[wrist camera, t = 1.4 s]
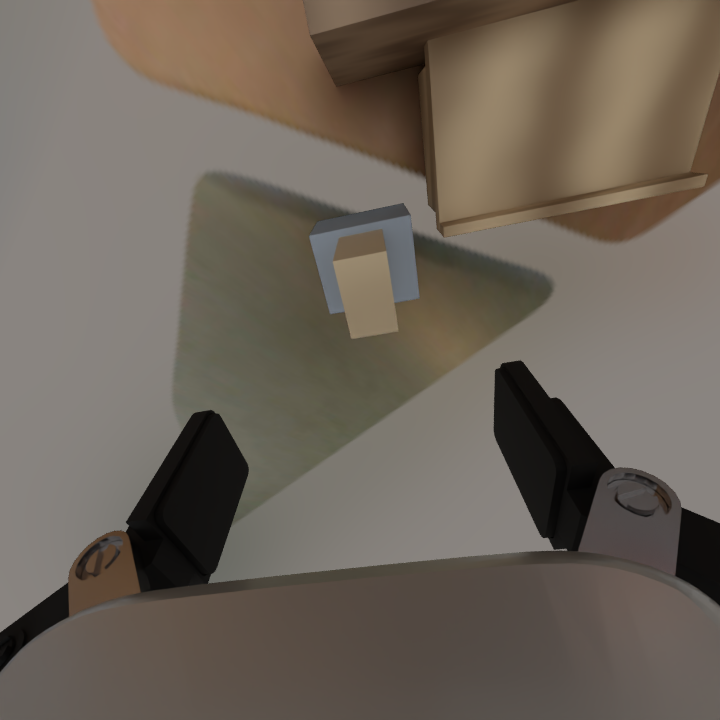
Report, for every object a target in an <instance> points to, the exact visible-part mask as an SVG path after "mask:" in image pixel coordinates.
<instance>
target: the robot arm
mask: <svg viewBox="0 0 720 720" xmlns="http://www.w3.org/2000/svg"><path fill="white" fill-rule="evenodd" d="M494 395H495V397H494V435H495V438H496V441H497V443H498V445H499V447H500V449H501V452H502V454H503V456H504V458H505V460H506V462H507V464H508V466H509V469H510V471H511V473H512V475H513V478H514V480H515V482H516V484H517V486H518V488H519V490H520V493H521V495H522V497H523V499H524V501H525V503H526V505H527V508H528V510H529V512H530V514H531V516H532V518H533V521H534V523H535V525H536V527H537V529H538V531H539V533H540V535H541V536H542V537H543V538H549V540H550V542H551V544H552V546H553V549H554V550H556V549H567V551H538V552H537V551H535V552H519V553H507V554H494V555H483V556H470V557H459V558H450V559H439V560H430V561H418V562H408V563H398V564H388V565H378V566H368V567H359V568H349V569H340V570H330V571H321V572H311V573H301V574H291V575H282V576H273V577H264V578H255V579H246V580H236V581H227V582H218V583H209V584H208V581H209V578H210V576H211V574H212V573H214V572H215V570H216V568H217V566H218V562H219V560H220V557H221V554H222V551H223V548H224V545H225V542H226V539H227V536H228V533H229V530H230V527H231V524H232V521H233V518H234V515H235V512H236V509H237V506H238V503H239V500H240V497H241V494H242V491H243V488H244V485H245V482H246V479H247V476H248V472H249V468H248V464H247V462H246V460H245V459H244V457H243V455H242V453H241V452H240V450H239V448H238V446H237V445H236V443H235V441H234V439H233V437H232V436H231V434H230V432H229V430H228V429H227V427H226V425H225V423H224V421H223V420H222V418H221V416H220V415H219V414H216V413H215V412H214V411H212V410H209V411H202V412H196V413H194V414H193V415H192V416H191V418H190V419H189V421H188V422H187V424H186V426H185V427H184V429H183V431H182V432H181V434H180V435H179V437H178V439H177V440H176V442H175V444H174V445H173V447H172V448H171V450H170V452H169V453H168V455H167V456H166V458H165V460H164V461H163V463H162V465H161V466H160V468H159V469H158V471H157V473H156V474H155V476H154V478H153V479H152V481H151V482H150V484H149V486H148V487H147V489H146V491H145V492H144V494H143V496H142V497H141V499H140V500H139V502H138V503H137V505H136V507H135V508H134V510H133V512H132V513H131V515H130V516H129V518H128V520H127V521H126V523H127V524H128V525H129V527H128V529H127V531H126V532H124V531H121V530H120V531H112V532H109V533H106V534H104V535H102V536H101V537H99V538H97V539H96V540H95V541H93V542H92V543H91V544H89V545H88V546H87V547H86V548H85V549H84V550H83V551H82V552H81V553H80V554H79V556H78V557H77V558H76V560H75V561H74V563H73V565H72V567H71V569H70V571H69V577H68V583H67V584H66V585H64V586H63V587H62V588H60V589H59V590H57V591H56V592H55V593H53V594H52V595H51V596H49V597H48V598H46V599H45V600H44V601H42V602H41V603H40V604H38V605H37V606H36V607H34V608H33V609H32V610H30V611H29V612H27V613H26V614H25V615H23V616H22V617H21V618H19V619H18V620H17V621H15V622H14V623H13V624H11V625H10V626H8V627H7V628H6V629H4V630H3V631H2V632H0V720H720V523H718V522H715V521H713V520H711V519H708V518H706V517H703V516H701V515H698V514H696V513H694V512H691V511H689V510H687V509H684V508H682V507H681V503H680V500H679V499H678V497H677V495H676V493H675V492H674V491H673V490H672V489H671V488H670V487H669V486H668V485H667V484H666V483H665V482H663V481H662V480H660V479H658V478H657V477H655V476H653V475H651V474H649V473H646V472H644V471H641V470H637V469H633V468H614V466H613V465H612V464H611V463H610V461H609V460H608V459H607V457H606V456H605V455H604V454H603V453H602V451H601V450H600V449H599V447H598V446H597V445H596V444H595V442H594V441H593V440H592V439H591V437H590V436H589V435H588V433H587V432H586V431H585V430H584V428H583V427H582V426H581V425H580V423H579V422H578V421H577V420H576V418H575V417H574V416H573V415H572V413H571V412H570V411H569V410H568V408H567V407H566V406H565V404H564V403H563V402H562V401H561V400H560V399H558V398H550V397H549V396H548V395H547V394H546V392H545V391H544V390H543V388H542V387H541V385H540V384H539V383H538V381H537V380H536V379H535V378H534V376H533V375H532V374H531V372H530V371H529V370H528V368H527V367H526V366H525V364H524V363H523V362H522V361H514V362H507V363H502V364H501V367H500V368H499V369H496V370H495V394H494Z"/></svg>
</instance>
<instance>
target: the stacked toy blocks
mask: <svg viewBox="0 0 720 720" xmlns="http://www.w3.org/2000/svg"><path fill="white" fill-rule="evenodd" d="M309 238H310V242H311V245H312V249H313V253H314V256H315V260H316V264H317V267H318V271H319V275H320V279H321V282H322V286H323V290H324V293H325V297H326V301H327V304H328V308H329V312H330V314H333V313H340V312H345V315H346V319H347V323H348V327H349V331H350V335H351V339H355V338H361V337H367V336H373V335H379V334H385V333H391V332H397V331H399V330H398V323H397V317H396V310H395V304H394V303H397V302H402V301H408V300H414V299H418V298H420V297H419V288H418V279H417V270H416V260H415V251H414V242H413V233H412V223H411V215H410V213H409V212H408V210H407V208H406V207H405V206H404V204H403V203H402V204H398V205H393V206H388V207H383V208H378V209H373V210H369V211H364V212H359V213H355V214H350V215H345V216H341V217H336V218H331V219H327V220H322V221H317V223H316V225H315V227H314V228H313V230H312V232H311V233H310V235H309Z"/></svg>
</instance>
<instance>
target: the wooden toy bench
mask: <svg viewBox="0 0 720 720" xmlns="http://www.w3.org/2000/svg"><path fill="white" fill-rule="evenodd" d="M303 3H304V8H305V13H306V18H307V23H308V28H309V33H310V36H311V38H312V40H313V42H314V44H315V46H316V48H317V50H318V52H319V54H320V56H321V58H322V59H323V61H324V63H325V65H326V67H327V69H328V71H329V73H330V75H331V77H332V79H333V81H334V83H335V85H336V86H340V85H344V84H348V83H352V82H356V81H360V80H364V79H367V78H371V77H375V76H379V75H383V74H387V73H391V72H395V71H398V70H402V69H406V68H410V67H414V66H418V65H422V64H425V67H424V68H423V70H422V71H421V72H420V73H419V75H418V84H419V96H420V109H421V121H422V134H423V146H424V159H425V171H426V183H427V196H428V205H429V206H430V207H431V208H432V209H433V210H434V211H435V212H436V223H437V230H438V231H439V232H440V233H441V234H442V236H443V237H444V238H445V237H450V236H455V235H460V234H465V233H470V232H475V231H481V230H486V229H491V228H496V227H501V226H506V225H511V224H516V223H521V222H526V221H531V220H536V219H541V218H547V217H552V216H557V215H562V214H567V213H572V212H577V211H582V210H587V209H592V208H597V207H602V206H607V205H612V204H618V203H623V202H628V201H633V200H638V199H643V198H648V197H653V196H658V195H663V194H668V193H673V192H678V191H683V190H689V189H694V188H699V187H704V185H705V182H706V179H707V176H708V174H702V173H692V172H690V170H691V167H692V163H693V160H694V157H695V153H696V150H697V146H698V143H699V140H700V136H701V133H702V129H703V126H704V123H705V119H706V116H707V113H708V109H709V106H710V102H711V99H712V96H713V92H714V89H715V85H716V82H717V79H718V75H719V72H720V0H303Z"/></svg>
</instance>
